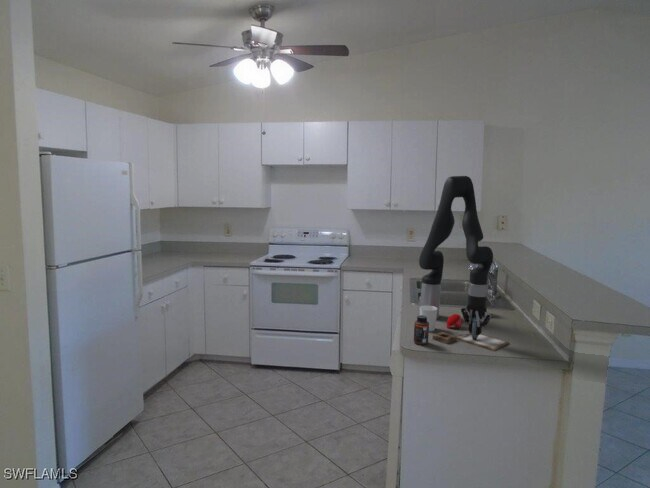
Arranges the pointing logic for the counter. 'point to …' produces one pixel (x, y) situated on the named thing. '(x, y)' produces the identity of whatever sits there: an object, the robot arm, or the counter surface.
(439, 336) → the marker stand
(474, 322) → the marker
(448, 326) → the cap
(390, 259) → the counter surface
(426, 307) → the white cup
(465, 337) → the clipboard
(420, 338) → the supplement bottle
